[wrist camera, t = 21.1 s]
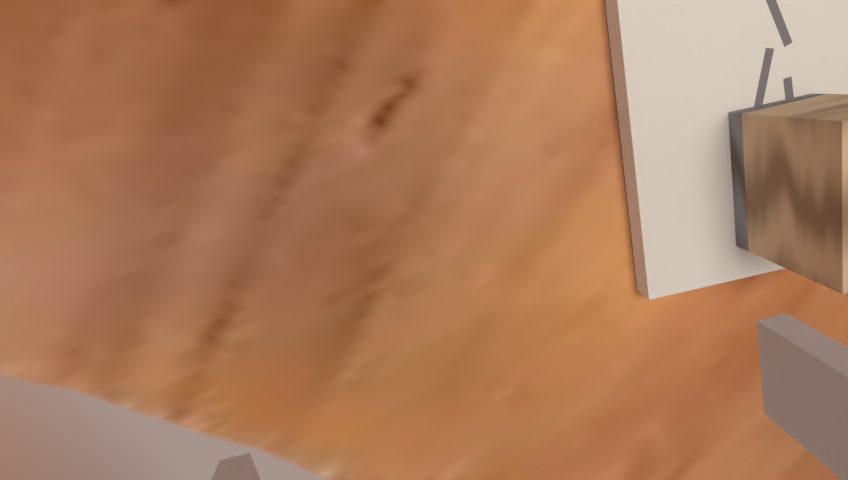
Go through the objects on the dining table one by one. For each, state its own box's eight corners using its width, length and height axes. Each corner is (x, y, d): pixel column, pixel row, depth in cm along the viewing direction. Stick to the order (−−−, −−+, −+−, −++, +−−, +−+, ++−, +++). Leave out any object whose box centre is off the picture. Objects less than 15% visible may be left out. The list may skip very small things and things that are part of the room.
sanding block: (728, 112, 39) (841, 121, 29) (810, 93, 39) (951, 96, 29) (736, 245, 42) (842, 293, 32) (813, 228, 42) (942, 270, 32)
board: (589, -134, 36) (602, -146, 34) (887, -198, 36) (916, -214, 34) (637, 290, 44) (649, 299, 42) (879, 235, 44) (901, 241, 43)
